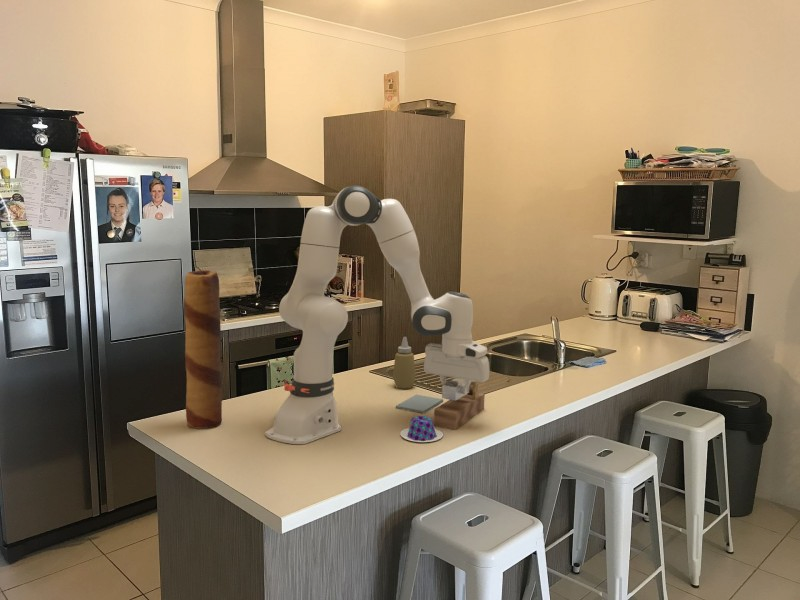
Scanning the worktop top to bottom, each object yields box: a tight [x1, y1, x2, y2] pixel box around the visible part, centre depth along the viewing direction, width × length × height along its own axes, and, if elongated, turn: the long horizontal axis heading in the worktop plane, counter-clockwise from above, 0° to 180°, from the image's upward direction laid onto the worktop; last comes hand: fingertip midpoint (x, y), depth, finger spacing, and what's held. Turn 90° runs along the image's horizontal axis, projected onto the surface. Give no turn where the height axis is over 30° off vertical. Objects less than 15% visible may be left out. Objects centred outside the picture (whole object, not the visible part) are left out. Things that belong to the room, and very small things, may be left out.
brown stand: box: [433, 381, 486, 431], centre depth 200 cm, size 22×7×11 cm, turn 151°
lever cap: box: [441, 378, 470, 401], centre depth 196 cm, size 10×4×5 cm, turn 150°
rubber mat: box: [395, 394, 444, 414], centre depth 212 cm, size 14×10×1 cm
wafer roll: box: [183, 269, 223, 429], centre depth 189 cm, size 10×11×45 cm
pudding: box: [399, 415, 444, 443], centre depth 184 cm, size 12×12×5 cm
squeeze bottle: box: [392, 336, 417, 390], centre depth 230 cm, size 8×8×18 cm
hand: (454, 391), depth 196 cm, fingers closed on lever cap, 4 cm apart
